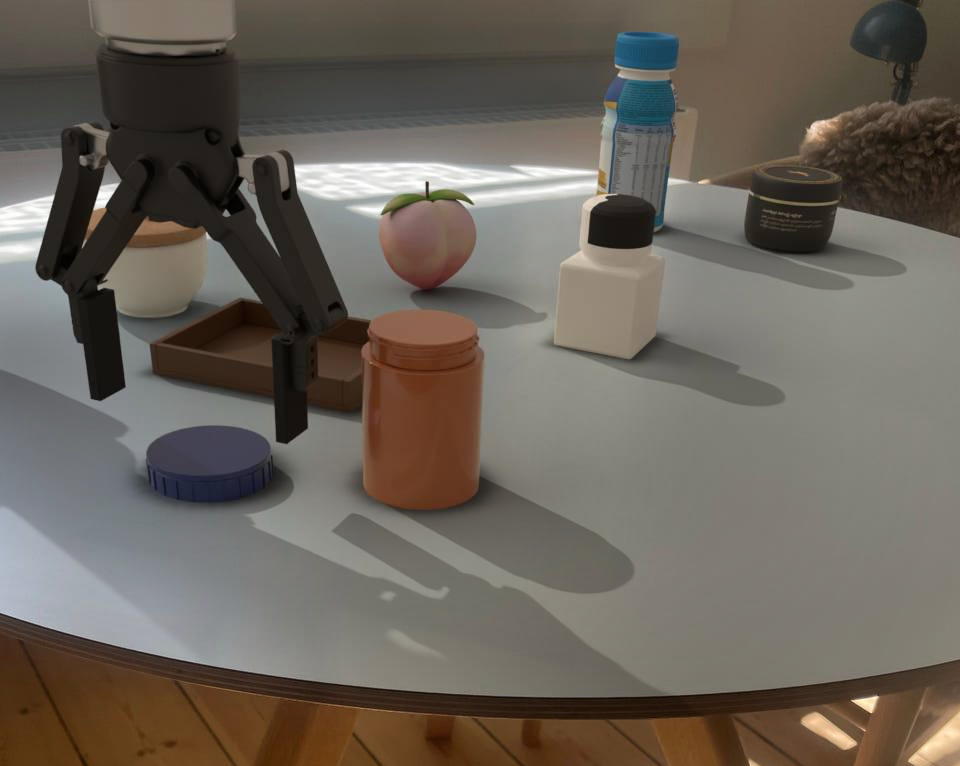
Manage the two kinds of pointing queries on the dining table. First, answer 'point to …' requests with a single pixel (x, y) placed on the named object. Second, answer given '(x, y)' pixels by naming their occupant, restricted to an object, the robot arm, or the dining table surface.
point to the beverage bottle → (640, 120)
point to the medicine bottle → (611, 280)
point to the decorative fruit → (427, 236)
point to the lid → (209, 463)
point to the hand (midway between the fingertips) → (198, 414)
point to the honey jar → (422, 409)
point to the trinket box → (156, 268)
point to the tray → (260, 355)
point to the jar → (791, 208)
